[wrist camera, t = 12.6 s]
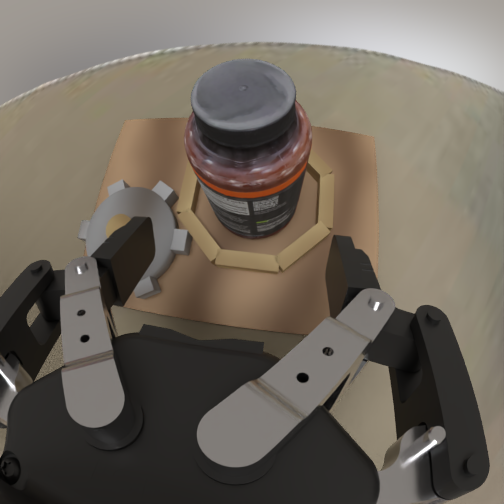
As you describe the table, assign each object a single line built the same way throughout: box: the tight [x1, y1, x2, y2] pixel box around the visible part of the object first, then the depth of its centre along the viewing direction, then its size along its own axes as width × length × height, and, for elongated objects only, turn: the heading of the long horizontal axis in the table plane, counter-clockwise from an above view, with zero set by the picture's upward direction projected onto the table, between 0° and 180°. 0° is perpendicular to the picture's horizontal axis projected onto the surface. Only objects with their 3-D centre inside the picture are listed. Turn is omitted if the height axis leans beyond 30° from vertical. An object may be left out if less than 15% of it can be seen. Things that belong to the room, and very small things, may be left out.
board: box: [78, 118, 379, 335], centre depth 20 cm, size 22×16×4 cm
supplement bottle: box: [184, 59, 312, 239], centre depth 15 cm, size 6×6×11 cm
